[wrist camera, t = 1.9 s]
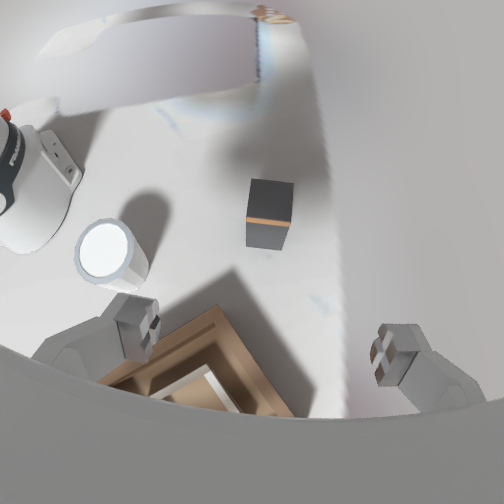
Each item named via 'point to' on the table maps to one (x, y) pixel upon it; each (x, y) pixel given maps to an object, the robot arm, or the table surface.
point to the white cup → (111, 256)
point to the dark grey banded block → (268, 213)
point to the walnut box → (202, 371)
